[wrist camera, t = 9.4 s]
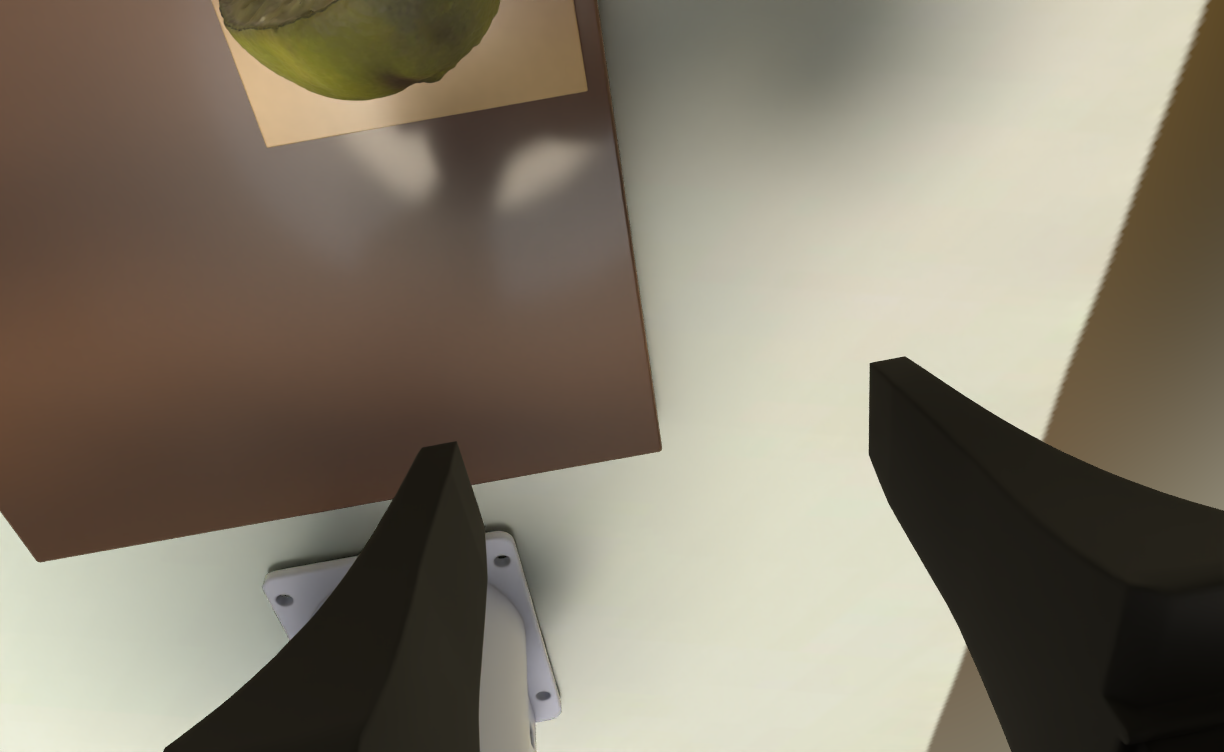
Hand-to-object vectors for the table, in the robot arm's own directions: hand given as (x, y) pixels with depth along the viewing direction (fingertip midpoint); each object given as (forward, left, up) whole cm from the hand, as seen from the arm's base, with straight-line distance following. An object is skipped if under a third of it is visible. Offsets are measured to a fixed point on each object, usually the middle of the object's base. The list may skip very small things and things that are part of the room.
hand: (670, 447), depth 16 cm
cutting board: (+3, +9, -9) cm, 13 cm away
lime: (+8, +4, -8) cm, 11 cm away
